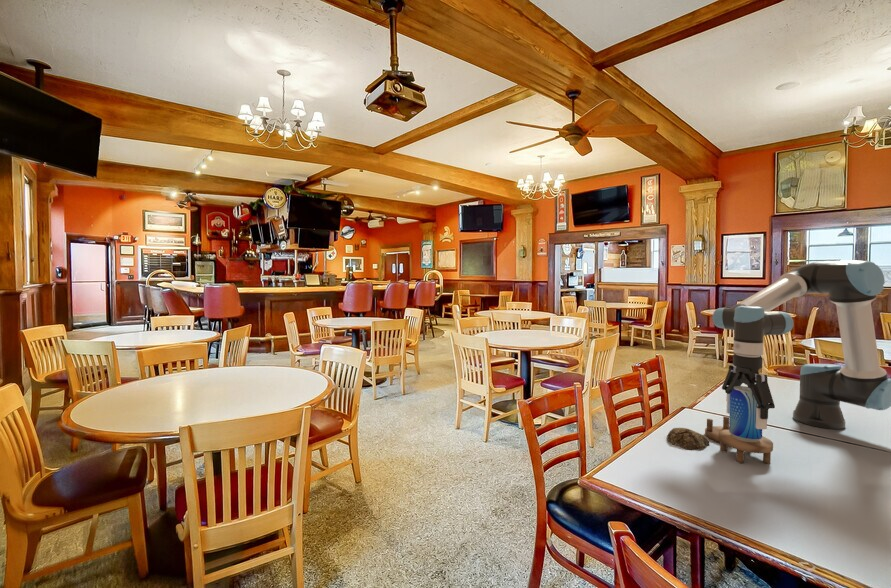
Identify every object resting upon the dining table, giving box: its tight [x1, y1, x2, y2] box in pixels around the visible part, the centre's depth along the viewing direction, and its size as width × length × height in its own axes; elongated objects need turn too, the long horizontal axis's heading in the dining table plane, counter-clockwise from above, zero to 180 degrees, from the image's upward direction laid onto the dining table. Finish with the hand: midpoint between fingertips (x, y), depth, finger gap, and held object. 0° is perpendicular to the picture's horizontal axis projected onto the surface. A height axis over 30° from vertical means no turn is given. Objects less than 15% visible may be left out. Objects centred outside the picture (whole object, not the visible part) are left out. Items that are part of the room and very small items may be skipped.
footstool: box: [718, 430, 774, 465], centre depth 128 cm, size 14×14×6 cm
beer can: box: [729, 385, 763, 443], centre depth 127 cm, size 8×8×16 cm
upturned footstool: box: [704, 415, 730, 444], centre depth 141 cm, size 14×14×6 cm
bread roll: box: [666, 427, 710, 451], centre depth 138 cm, size 13×12×5 cm
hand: (745, 420), depth 127 cm, fingers open, 13 cm apart
